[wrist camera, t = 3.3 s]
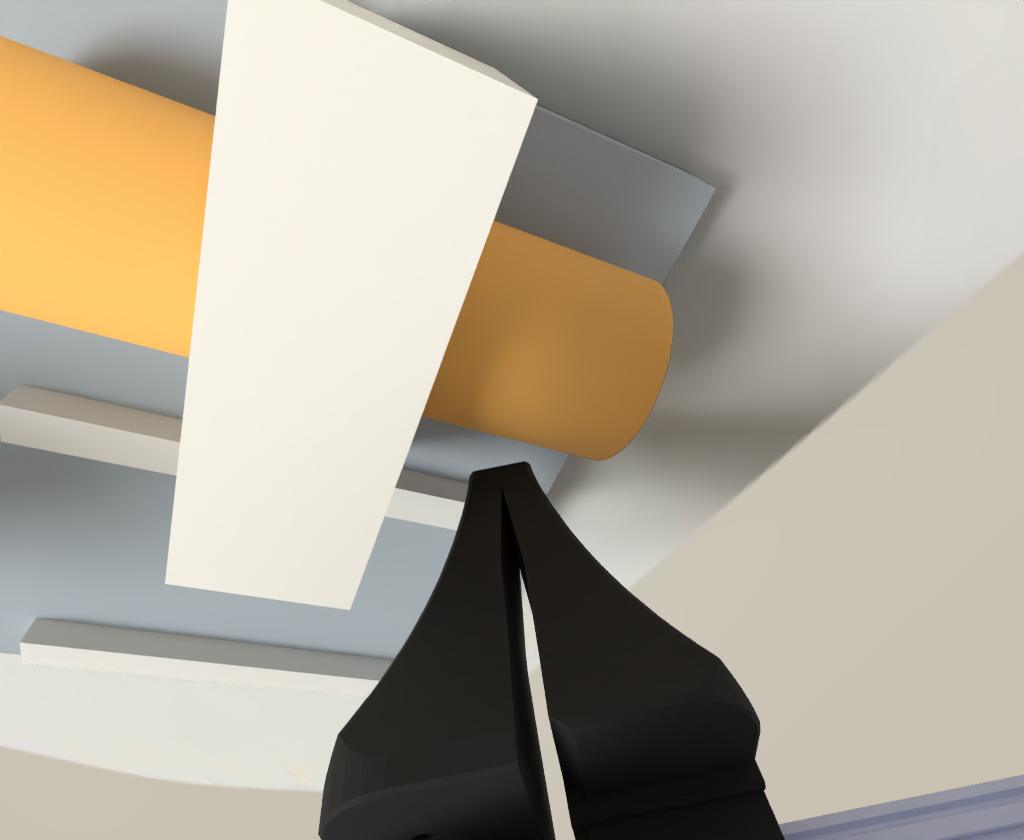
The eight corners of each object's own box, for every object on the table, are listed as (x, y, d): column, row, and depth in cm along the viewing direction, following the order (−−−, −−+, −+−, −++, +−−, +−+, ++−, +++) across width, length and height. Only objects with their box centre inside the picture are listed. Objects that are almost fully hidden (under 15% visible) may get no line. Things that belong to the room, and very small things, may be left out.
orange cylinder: (622, 263, 13) (702, 305, 9) (558, 413, 14) (608, 496, 11) (44, 45, 9) (-153, -11, 6) (32, 268, 11) (-136, 324, 7)
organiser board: (693, 175, 13) (733, 198, 11) (435, 666, 22) (435, 718, 20) (-366, -302, 8) (-583, -390, 6) (-117, 601, 17) (-175, 663, 15)
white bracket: (494, 68, 10) (538, 99, 6) (372, 445, 14) (350, 610, 10) (318, -13, 9) (232, -40, 5) (244, 415, 13) (164, 584, 9)
